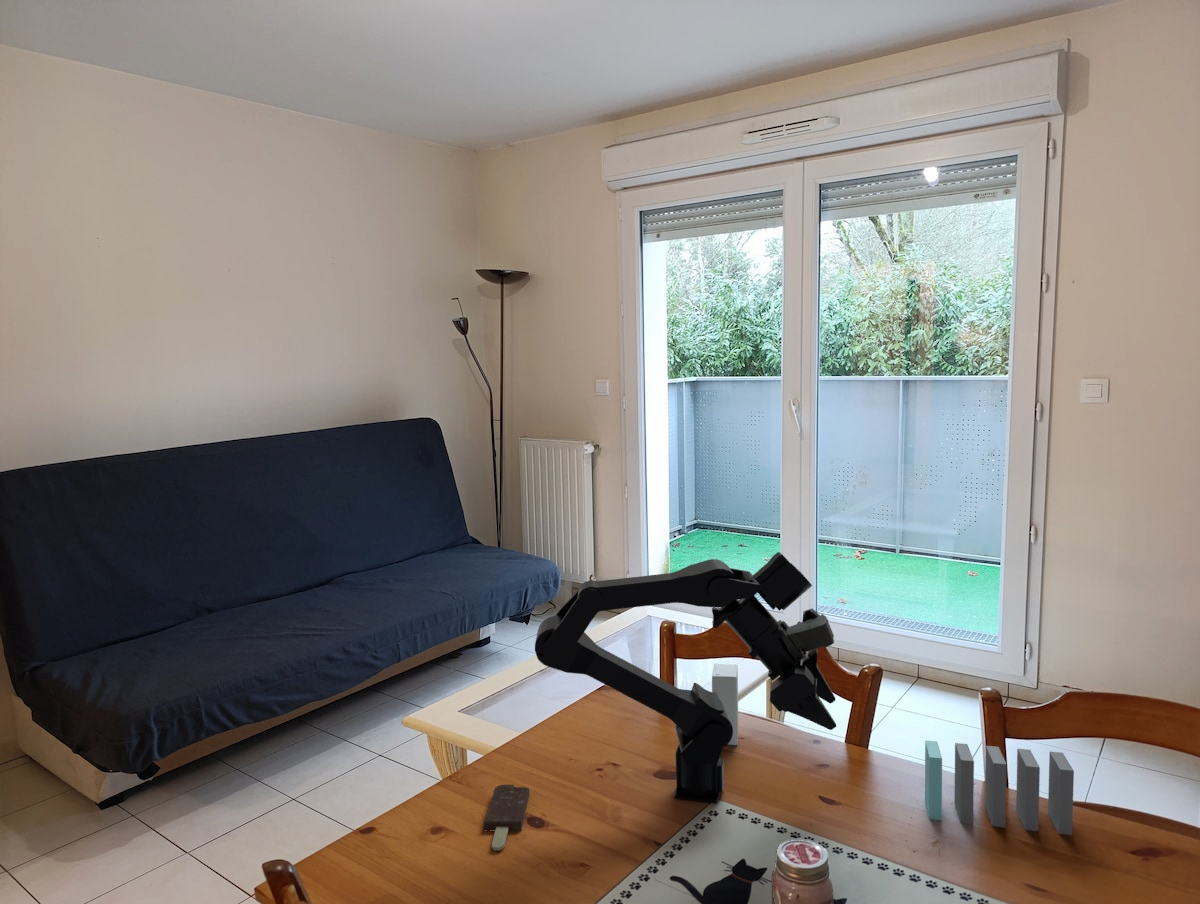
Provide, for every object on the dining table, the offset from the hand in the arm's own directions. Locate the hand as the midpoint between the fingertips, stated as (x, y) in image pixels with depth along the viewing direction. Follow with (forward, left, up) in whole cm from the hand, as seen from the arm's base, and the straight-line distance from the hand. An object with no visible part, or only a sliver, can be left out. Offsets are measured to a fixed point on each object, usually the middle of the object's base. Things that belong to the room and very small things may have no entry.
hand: (833, 714), depth 112 cm
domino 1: (+17, 0, -13) cm, 22 cm away
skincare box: (-18, +16, -13) cm, 27 cm away
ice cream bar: (-45, -16, -14) cm, 50 cm away
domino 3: (+25, 0, -13) cm, 29 cm away
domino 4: (+29, 0, -13) cm, 32 cm away
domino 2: (+21, 0, -13) cm, 25 cm away
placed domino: (+13, 0, -13) cm, 19 cm away
